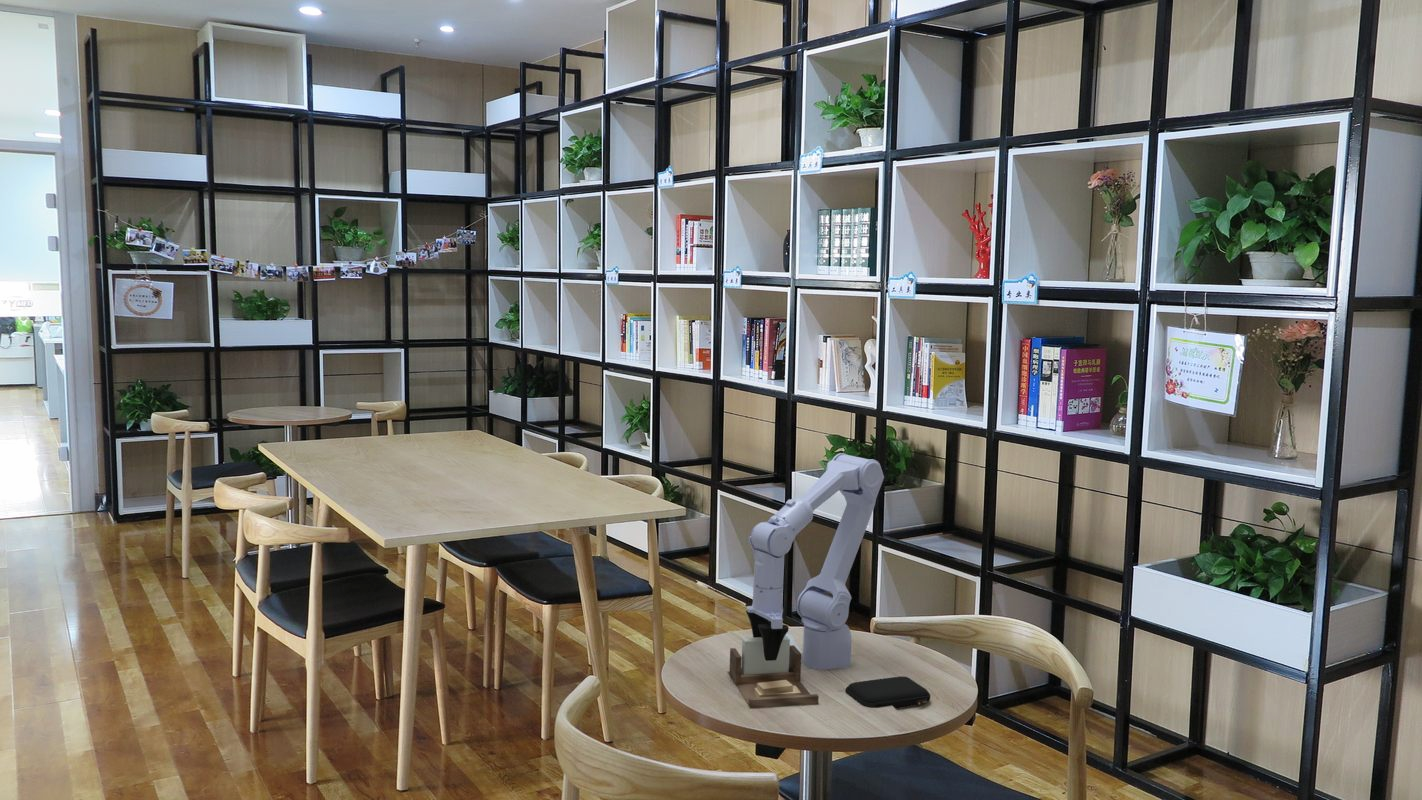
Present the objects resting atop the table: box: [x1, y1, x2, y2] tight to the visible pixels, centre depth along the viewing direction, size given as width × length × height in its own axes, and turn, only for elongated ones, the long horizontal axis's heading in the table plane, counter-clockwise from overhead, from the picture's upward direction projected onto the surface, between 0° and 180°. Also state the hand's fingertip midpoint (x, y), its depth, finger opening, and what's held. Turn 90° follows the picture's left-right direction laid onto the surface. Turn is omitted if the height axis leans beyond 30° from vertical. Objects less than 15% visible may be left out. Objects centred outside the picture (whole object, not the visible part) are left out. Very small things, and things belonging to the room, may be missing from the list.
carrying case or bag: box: [844, 675, 931, 709], centre depth 202 cm, size 11×3×15 cm
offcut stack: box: [754, 680, 801, 698], centre depth 200 cm, size 8×4×2 cm, turn 103°
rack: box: [726, 645, 820, 709], centre depth 204 cm, size 13×18×6 cm
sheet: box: [741, 636, 790, 675], centre depth 208 cm, size 9×2×8 cm, turn 103°
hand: (765, 653), depth 208 cm, fingers open, 7 cm apart
